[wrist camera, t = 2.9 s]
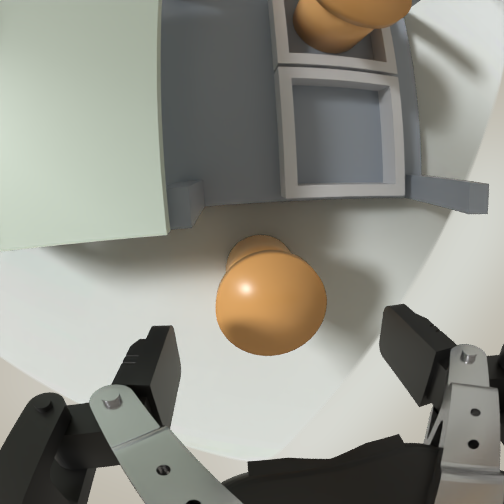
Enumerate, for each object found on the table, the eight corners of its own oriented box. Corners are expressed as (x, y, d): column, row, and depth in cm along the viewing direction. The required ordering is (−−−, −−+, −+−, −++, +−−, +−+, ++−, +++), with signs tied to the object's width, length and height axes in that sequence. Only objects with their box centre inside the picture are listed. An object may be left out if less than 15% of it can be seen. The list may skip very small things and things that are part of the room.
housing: (7, 43, 13) (-50, 18, 6) (392, 2, 14) (446, -41, 7) (8, 228, 17) (-60, 255, 10) (413, 195, 18) (487, 213, 11)
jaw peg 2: (282, -11, 13) (301, -65, 8) (358, -2, 13) (399, -45, 8) (289, 57, 14) (315, 12, 9) (370, 64, 14) (421, 32, 9)
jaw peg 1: (215, 231, 18) (210, 259, 12) (299, 225, 18) (328, 250, 13) (222, 307, 19) (221, 359, 14) (299, 301, 19) (324, 349, 14)
